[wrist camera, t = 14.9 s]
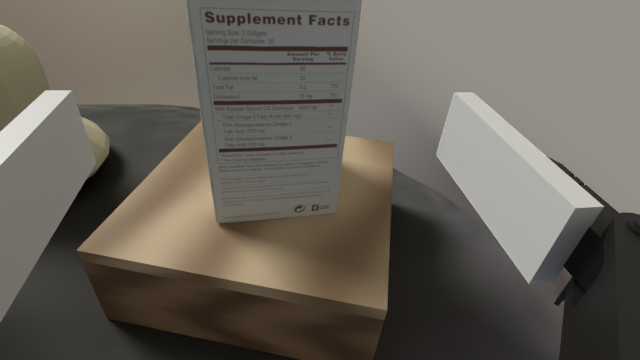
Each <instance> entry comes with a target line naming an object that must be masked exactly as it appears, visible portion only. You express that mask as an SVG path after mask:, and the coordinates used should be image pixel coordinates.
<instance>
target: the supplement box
mask: <svg viewBox="0 0 640 360" xmlns="http://www.w3.org/2000/svg"><path fill="white" fill-rule="evenodd" d="M185 1H186V9H187V16H188V23H189V30H190V38H191V45H192V52H193V59H194V67H195V75H196V81H197V82H196V83H197V91H198V99H199V107H200V114H201V121H202V129H203V136H204V143H205V149H206V157H207V163H208V171H209V177H210V184H211V191H212V198H213V205H214V212H215V219H216V222H218V223H228V222H245V221H257V220H269V219H282V218H293V217H305V216H315V215H326V214H333V213H335V212H336V210H337V201H338V192H339V183H340V174H341V166H342V158H343V150H344V142H345V134H346V126H347V118H348V110H349V102H350V94H351V86H352V79H353V71H354V63H355V55H356V47H357V39H358V31H359V30H358V29H359V21H360V12H361V2H362V0H185Z"/></svg>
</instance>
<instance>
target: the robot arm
mask: <svg viewBox="0 0 640 360" xmlns="http://www.w3.org/2000/svg"><path fill="white" fill-rule="evenodd" d="M436 155H437V157H438V158H439V160H440V161H441V162H442V164H443V165H444V166H445V168H446V169H447V171H448V172H449V174H450V175H451V176H452V178H453V179H454V180H455V182H456V183H457V185H458V186H459V187H460V189H461V190H462V192H463V193H464V194H465V196H466V197H467V199H468V200H469V201H470V202H471V204H472V206H473V207H474V208H475V210H476V211H477V212H478V214H479V215H480V217H481V218H482V219H483V221H484V222H485V224H486V225H487V226H488V228H489V229H490V231H491V232H492V233H493V235H494V236H495V238H496V239H497V240H498V242H499V243H500V244H501V246H502V247H503V249H504V250H505V251H506V253H507V254H508V256H509V257H510V258H511V260H512V261H513V263H514V264H515V265H516V267H517V268H518V270H519V271H520V272H521V274H522V275H523V276H524V278H525V279H526V281H527V282H528V283H529V284H535V283H547V282H554V281H555V279H556V278H557V276H558V275H559V273H560V272H561V270H562V269H563V267H565V268H566V270H567V271H568V272H569V273H570V274H571V275H572V278H571V279H570V281H569V282H568V284H567V285H566V287H565V288H564V289H563V291H562V292H561V293H560V295H559V296H558V298H557V299H556V301H555V303H554V304H555V305H558V306H559V304H560V303H561V302H562V301H564V300H565V305H564V315H563V325H562V335H561V345H560V355H559V360H640V215H638V214H634V213H620V214H619V213H618V212H617V211H616V210H615V209H614V208H612V207H611V206H610V205H609V204H608V203H607V202H605V201H604V200H603V199H602V198H601V197H600V196H598V195H597V194H596V193H595V192H594V191H593V190H591V189H590V188H589V187H588V186H587V185H584V183H583V182H582V181H581V180H580V179H579V178H577V177H574V174H573V173H571V172H570V171H569V170H568V169H567V168H566V167H564V166H563V165H562V164H560V163H558V162H556V161H554V160H553V159H551V158H549V157H547V156H546V155H544V154H543V153H542V152H541V151H540V150H539V149H537V148H536V147H535V146H534V145H533V144H532V143H530V142H529V141H528V140H527V139H526V138H525V137H524V136H522V135H521V134H520V133H519V132H518V131H517V130H516V129H515V128H513V127H512V126H511V125H510V124H509V123H508V122H506V121H505V120H504V119H503V118H502V117H501V116H500V115H498V114H497V113H496V112H495V111H494V110H493V109H492V108H490V107H489V106H488V105H487V104H486V103H485V102H484V101H482V100H481V99H480V98H479V97H478V96H477V95H476V94H474V93H473V92H471V93H470V92H461V93H460V92H454V95H453V98H452V102H451V106H450V109H449V112H448V116H447V119H446V123H445V126H444V129H443V133H442V136H441V139H440V143H439V146H438V150H437V153H436ZM95 164H96V160H95V157H94V154H93V151H92V148H91V145H90V142H89V139H88V136H87V133H86V131H85V128H84V125H83V122H82V119H81V116H80V113H79V110H78V107H77V104H76V101H75V99H74V96H73V93H72V91H51V90H45V91H44V92H43V93H42V94H41V95H40V96H39V97H38V98H37V99H36V100H34V101H33V102H32V103H31V104H30V105H29V106H28V107H27V108H26V109H25V110H24V111H22V112H21V113H20V114H19V115H18V116H17V117H16V118H15V119H14V120H13V121H12V122H10V123H9V124H8V125H7V126H6V127H5V128H4V129H3V130H2V131H1V132H0V322H1V321H2V319H3V317H4V316H5V314H6V312H7V311H8V309H9V307H10V306H11V304H12V302H13V301H14V299H15V297H16V296H17V294H18V292H19V291H20V289H21V287H22V286H23V284H24V282H25V281H26V279H27V277H28V276H29V274H30V272H31V271H32V269H33V267H34V266H35V264H36V262H37V261H38V259H39V257H40V256H41V254H42V252H43V251H44V249H45V247H46V246H47V244H48V242H49V241H50V239H51V237H52V236H53V234H54V232H55V231H56V229H57V227H58V226H59V224H60V222H61V221H62V219H63V217H64V216H65V214H66V212H67V211H68V209H69V207H70V206H71V204H72V202H73V201H74V199H75V197H76V196H77V194H78V192H79V191H80V189H81V187H82V186H83V184H84V182H85V181H86V179H87V177H88V176H89V174H90V172H91V171H92V169H93V167H94V166H95Z"/></svg>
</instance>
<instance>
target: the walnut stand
mask: <svg viewBox="0 0 640 360" xmlns="http://www.w3.org/2000/svg"><path fill="white" fill-rule="evenodd" d="M393 146H394V143H392V142H385V141H378V140H372V139H365V138H358V137H350V136H345V142H344V150H343V158H342V166H341V174H340V183H339V192H338V201H337V210H336V212H335V213H333V214H326V215H315V216H305V217H293V218H282V219H269V220H257V221H245V222H228V223H218V222H216V219H215V212H214V205H213V198H212V191H211V184H210V177H209V171H208V163H207V157H206V149H205V143H204V136H203V129H202V121H200V123H199V124H198V125H197V126H196V127H195V128H194V129H193V130H192V131H191V132H190V133H189V134H188V135H187V136H186V137H185V138H184V139H183V140H182V141H181V142H180V143H179V144H178V145H177V146H176V147H175V148H174V149H173V150H172V152H171V153H170V154H169V155H168V156H167V157H166V158H165V159H164V160H163V161H162V162H161V163H160V164H159V165H158V166H157V167H156V168H155V169H154V170H153V171H152V172H151V173H150V174H149V175H148V176H147V177H146V178H145V179H144V181H143V182H142V183H141V184H140V185H139V186H138V187H137V188H136V189H135V190H134V191H133V192H132V193H131V194H130V195H129V196H128V197H127V198H126V199H125V200H124V201H123V202H122V203H121V204H120V205H119V206H118V207H117V208H116V210H115V211H114V212H113V213H112V214H111V215H110V216H109V217H108V218H107V219H106V220H105V221H104V222H103V223H102V224H101V225H100V226H99V227H98V228H97V229H96V230H95V231H94V232H93V233H92V234H91V235H90V236H89V237H88V239H87V240H86V241H85V242H84V243H83V244H82V245H81V246H80V247H79V248H78V249H77V250H76V251H77V253H78V255H79V258H80V260H81V262H82V264H83V266H84V269H85V271H86V273H87V275H88V277H89V279H90V282H91V284H92V286H93V288H94V290H95V293H96V295H97V297H98V299H99V301H100V303H101V306H102V308H103V310H104V312H105V314H106V317H107V319H111V320H116V321H121V322H126V323H130V324H135V325H140V326H145V327H149V328H154V329H159V330H163V331H168V332H173V333H178V334H182V335H187V336H192V337H196V338H201V339H206V340H211V341H215V342H220V343H225V344H229V345H234V346H239V347H244V348H248V349H253V350H258V351H262V352H267V353H272V354H277V355H281V356H286V357H291V358H295V359H300V360H373V358H374V355H375V351H376V348H377V344H378V341H379V337H380V334H381V330H382V327H383V324H384V320H385V317H386V313H387V305H388V278H389V252H390V226H391V200H392V174H393Z"/></svg>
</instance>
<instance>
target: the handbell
mask: <svg viewBox="0 0 640 360" xmlns="http://www.w3.org/2000/svg"><path fill="white" fill-rule="evenodd" d="M45 90H50V87H49V84H48V81H47V78H46V75H45V72H44V69H43V66H42V64H41V62H40V60H39V58H38V56H37V54H36V53H35V52H34V51H33V49H32V48H31V46H30V45H28V43H27V42H26V41H25V40H24V39H23V38H22V37H21V36H19V35H18V34H17V33H15V32H14V31H12V30H11V29H9V28H7V27H5V26H3V25H0V132H1V131H2V130H3V129H4V128H5V127H6V126H7V125H8V124H9V123H10V122H12V121H13V120H14V119H15V118H16V117H17V116H18V115H19V114H20V113H21V112H22V111H24V110H25V109H26V108H27V107H28V106H29V105H30V104H31V103H32V102H33V101H34V100H36V99H37V98H38V97H39V96H40V95H41V94H42V93H43V92H44V91H45ZM81 119H82V122H83V125H84V128H85V131H86V133H87V136H88V139H89V142H90V145H91V148H92V151H93V154H94V157H95V160H96V164H95V166H94V167H93V169H92V171H91V172H90V174H89V176H88V177H87V179H88V178H89V177H91V176H92V175H93V174H95V173H96V172H97V170H98V169H99V167H100V166H101V165H102V163H103V162H104V161H105V159H106V158H107V156H108V154H109V137H108V136H107V135H106V134H105V133H104V132H103V131H102V130H101V129H100V128H99V127H98V126H97V125H96V124H95V123H93V122H91V121H89V120H87V119H85V118H83V117H81Z"/></svg>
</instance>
